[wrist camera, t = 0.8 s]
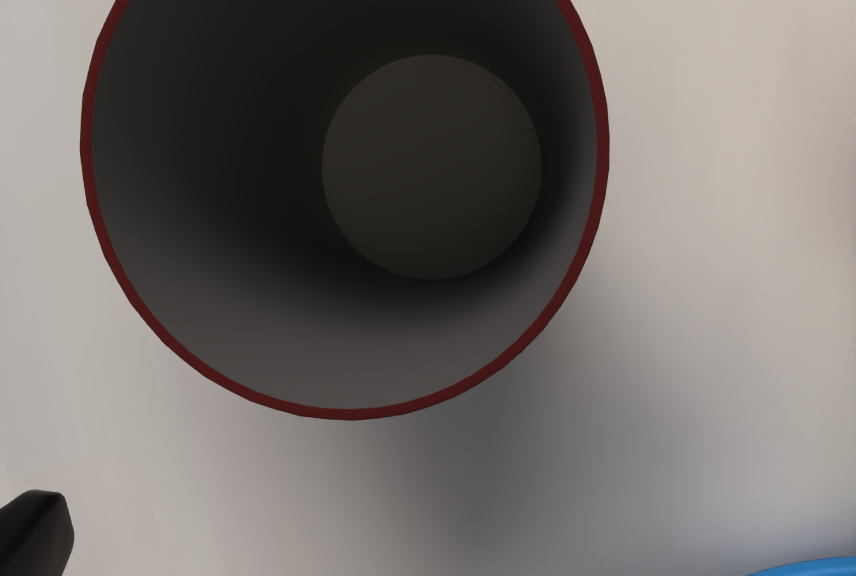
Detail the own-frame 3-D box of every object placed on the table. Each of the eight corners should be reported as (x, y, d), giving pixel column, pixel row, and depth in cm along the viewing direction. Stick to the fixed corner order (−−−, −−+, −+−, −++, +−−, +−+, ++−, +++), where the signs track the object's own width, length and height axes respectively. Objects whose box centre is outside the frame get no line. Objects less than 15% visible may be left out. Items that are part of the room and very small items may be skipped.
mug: (199, 25, 23) (-106, -118, 12) (441, -130, 21) (341, -465, 10) (374, 353, 23) (237, 499, 13) (622, 230, 22) (710, 278, 11)
